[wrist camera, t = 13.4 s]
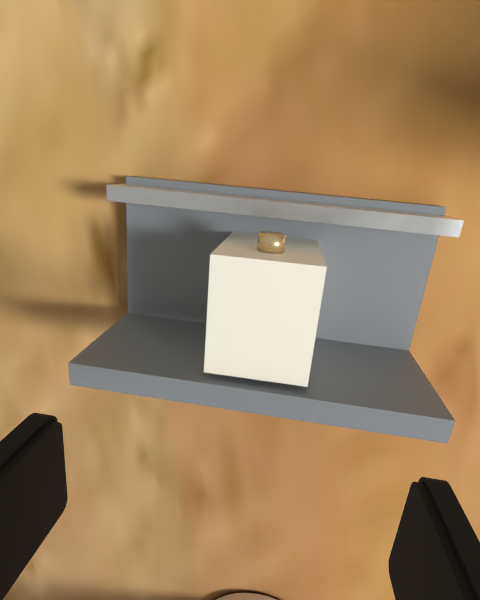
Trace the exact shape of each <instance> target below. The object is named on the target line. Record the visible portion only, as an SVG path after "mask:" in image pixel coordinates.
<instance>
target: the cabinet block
mask: <svg viewBox="0 0 480 600" xmlns="http://www.w3.org/2000/svg"><path fill="white" fill-rule="evenodd" d="M326 269H327V266H326V263H325V260H324V258H323V255H322V252H321V250H320V247H319V244H318V242H317V240H309V239H299V238H289V237H286V234H284V233H280V232H273V231H260V232H258V234H250V233H240V232H232V233H231V234H230V235H229V236H228V237H227V238H226V239H225V240H224V241H223V242H222V243H221V244H220V245H219V246H218V247H217V248H216V249H215V250H214V251H213V252H212V253H211V254H210V267H209V285H208V304H207V322H206V340H205V358H204V372H205V373H212V374H219V375H226V376H233V377H241V378H248V379H255V380H262V381H269V382H276V383H283V384H290V385H297V386H305V387H308V381H309V375H310V368H311V362H312V356H313V350H314V344H315V337H316V331H317V325H318V319H319V313H320V307H321V300H322V294H323V288H324V282H325V276H326Z"/></svg>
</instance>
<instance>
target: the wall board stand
mask: <svg viewBox="0 0 480 600" xmlns="http://www.w3.org/2000/svg"><path fill="white" fill-rule="evenodd" d="M106 187H107V201H115V202H124V203H126V224H127V298H128V313H127V314H126V315H124V316H123V317H122V318H121V319H120V320H119V321H117V322H116V323H115V324H114V325H113V326H111V327H110V328H109V329H108V330H107V331H106V332H104V333H103V334H102V335H101V336H100V337H98V338H97V339H96V340H95V341H94V342H92V343H91V344H90V345H89V346H88V347H87V348H85V349H84V350H83V351H82V352H81V353H79V354H78V355H77V356H76V357H75V358H73V359H72V360H71V361H70V362H69V363H68V365H69V379H70V385H75V386H81V387H88V388H94V389H101V390H107V391H113V392H120V393H126V394H133V395H139V396H146V397H152V398H158V399H165V400H171V401H178V402H184V403H191V404H197V405H203V406H210V407H216V408H223V409H229V410H236V411H242V412H248V413H255V414H261V415H268V416H274V417H281V418H287V419H293V420H300V421H306V422H313V423H319V424H326V425H332V426H338V427H345V428H351V429H358V430H364V431H371V432H377V433H383V434H390V435H396V436H403V437H409V438H416V439H422V440H428V441H435V442H441V443H448V440H449V437H450V434H451V431H452V428H453V425H454V422H455V420H454V418H453V417H452V415H451V414H450V412H449V411H448V409H447V408H446V406H445V405H444V403H443V402H442V400H441V399H440V397H439V396H438V394H437V393H436V391H435V390H434V388H433V387H432V385H431V383H430V382H429V380H428V379H427V377H426V376H425V374H424V373H423V371H422V370H421V368H420V367H419V365H418V364H417V362H416V361H415V359H414V358H413V356H412V355H411V353H410V352H409V347H410V343H411V340H412V336H413V332H414V328H415V324H416V321H417V317H418V313H419V309H420V306H421V302H422V298H423V294H424V290H425V287H426V283H427V279H428V275H429V271H430V268H431V264H432V260H433V256H434V252H435V249H436V245H437V241H438V237H439V235H441V236H450V237H459V236H460V232H461V229H462V225H463V222H464V220H460V219H457V218H453V217H449V216H446V215H444V214H445V211H446V207H442V206H437V205H427V204H416V203H406V202H396V201H385V200H375V199H365V198H354V197H344V196H334V195H323V194H313V193H303V192H293V191H282V190H272V189H262V188H251V187H241V186H231V185H220V184H210V183H200V182H189V181H179V180H169V179H158V178H148V177H138V176H126V184H110V185H106ZM260 231H273V232H280V233H284V234H286V237H289V238H299V239H309V240H317V242H318V244H319V247H320V250H321V252H322V255H323V258H324V260H325V263H326V266H327V269H326V276H325V282H324V288H323V294H322V300H321V307H320V313H319V319H318V325H317V331H316V337H315V344H314V350H313V356H312V362H311V368H310V375H309V381H308V387H305V386H297V385H290V384H283V383H276V382H269V381H262V380H255V379H248V378H241V377H233V376H226V375H219V374H212V373H205V372H204V358H205V340H206V322H207V304H208V285H209V267H210V254H211V253H212V252H213V251H214V250H215V249H216V248H217V247H218V246H219V245H220V244H221V243H222V242H223V241H224V240H225V239H226V238H227V237H228V236H229V235H230V234H231V233H232V232H240V233H250V234H258V232H260Z"/></svg>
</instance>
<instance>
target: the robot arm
mask: <svg viewBox="0 0 480 600" xmlns="http://www.w3.org/2000/svg"><path fill="white" fill-rule="evenodd" d="M66 503H67V486H66V472H65V459H64V445H63V432H62V425H61V423H59V422H58V421H57V418H56V417H55V416H51V415H45V414H39V413H32V414H31V415H29V416H28V417H27V418H26V419H25V420H24V421H23V422H21V423H20V424H19V425H18V426H17V427H16V428H15V429H14V430H13V431H11V432H10V433H9V434H8V435H7V436H6V437H5V438H4V439H3V440H1V441H0V600H3V598H4V597H5V596H6V594H7V593H8V591H9V590H10V588H11V587H12V585H13V584H14V582H15V581H16V580H17V578H18V577H19V575H20V574H21V572H22V571H23V569H24V568H25V567H26V565H27V564H28V562H29V561H30V559H31V558H32V556H33V555H34V553H35V552H36V551H37V549H38V548H39V546H40V545H41V543H42V542H43V540H44V539H45V537H46V536H47V535H48V533H49V532H50V530H51V529H52V527H53V526H54V524H55V523H56V521H57V520H58V519H59V517H60V516H61V514H62V513H63V511H64V509H65V506H66ZM389 574H390V579H391V583H392V587H393V591H394V595H395V599H396V600H480V542H479V540H478V538H477V536H476V534H475V533H474V531H473V529H472V527H471V525H470V523H469V521H468V519H467V517H466V515H465V513H464V511H463V509H462V507H461V505H460V504H459V502H458V500H457V498H456V496H455V494H454V492H453V490H452V488H451V486H450V485H449V483H448V482H447V481H444V480H438V479H431V478H425V477H421V478H420V479H419V481H418V482H413V483H412V484H411V487H410V490H409V494H408V497H407V500H406V504H405V507H404V510H403V514H402V517H401V521H400V524H399V527H398V531H397V534H396V537H395V541H394V544H393V547H392V551H391V554H390V558H389ZM216 600H277V599H274V598H272V597H269V596H265V595H261V594H255V593H234V594H228V595H225V596H222V597H220V598H217V599H216Z"/></svg>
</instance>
